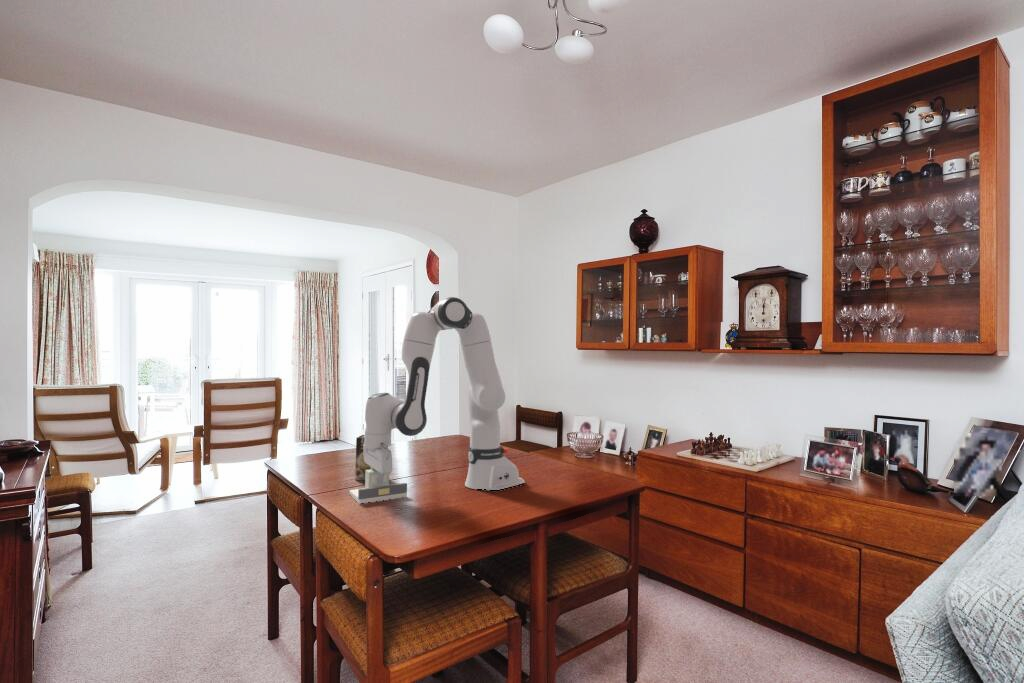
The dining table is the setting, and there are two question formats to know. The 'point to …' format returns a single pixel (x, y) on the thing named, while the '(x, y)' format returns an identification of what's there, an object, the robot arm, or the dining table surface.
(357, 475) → the coffee box
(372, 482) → the carton
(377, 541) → the dining table surface
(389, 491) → the shelf board
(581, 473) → the dining table surface
